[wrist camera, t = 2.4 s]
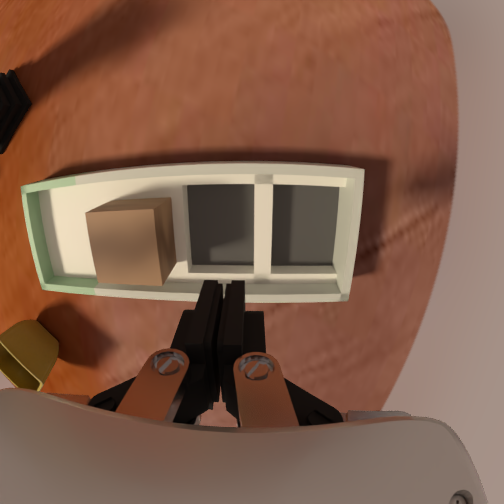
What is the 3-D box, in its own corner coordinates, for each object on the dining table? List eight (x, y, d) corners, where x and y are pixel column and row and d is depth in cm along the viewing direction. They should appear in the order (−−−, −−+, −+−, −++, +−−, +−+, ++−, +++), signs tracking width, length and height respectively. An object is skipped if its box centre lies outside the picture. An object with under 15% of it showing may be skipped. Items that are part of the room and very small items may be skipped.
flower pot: (30, 302, 30) (-5, 337, 21) (72, 343, 32) (43, 384, 23) (21, 331, 32) (-7, 363, 24) (58, 366, 34) (34, 402, 26)
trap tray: (336, 280, 28) (347, 301, 24) (60, 274, 28) (42, 289, 24) (348, 165, 23) (364, 169, 20) (43, 179, 23) (20, 186, 20)
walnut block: (176, 262, 25) (162, 286, 21) (119, 261, 25) (98, 282, 21) (171, 197, 23) (153, 209, 18) (110, 200, 23) (85, 212, 18)
